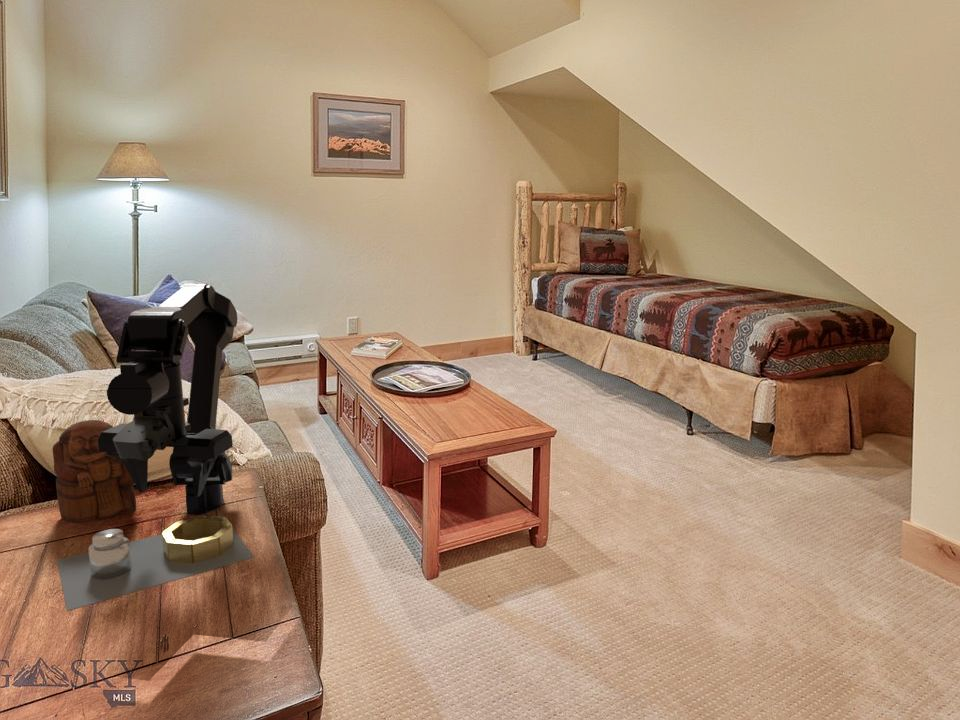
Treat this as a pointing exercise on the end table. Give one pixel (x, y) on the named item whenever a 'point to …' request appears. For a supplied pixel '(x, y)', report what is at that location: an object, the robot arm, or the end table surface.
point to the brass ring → (201, 549)
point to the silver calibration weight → (109, 554)
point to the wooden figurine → (90, 476)
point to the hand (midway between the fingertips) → (170, 493)
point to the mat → (137, 571)
